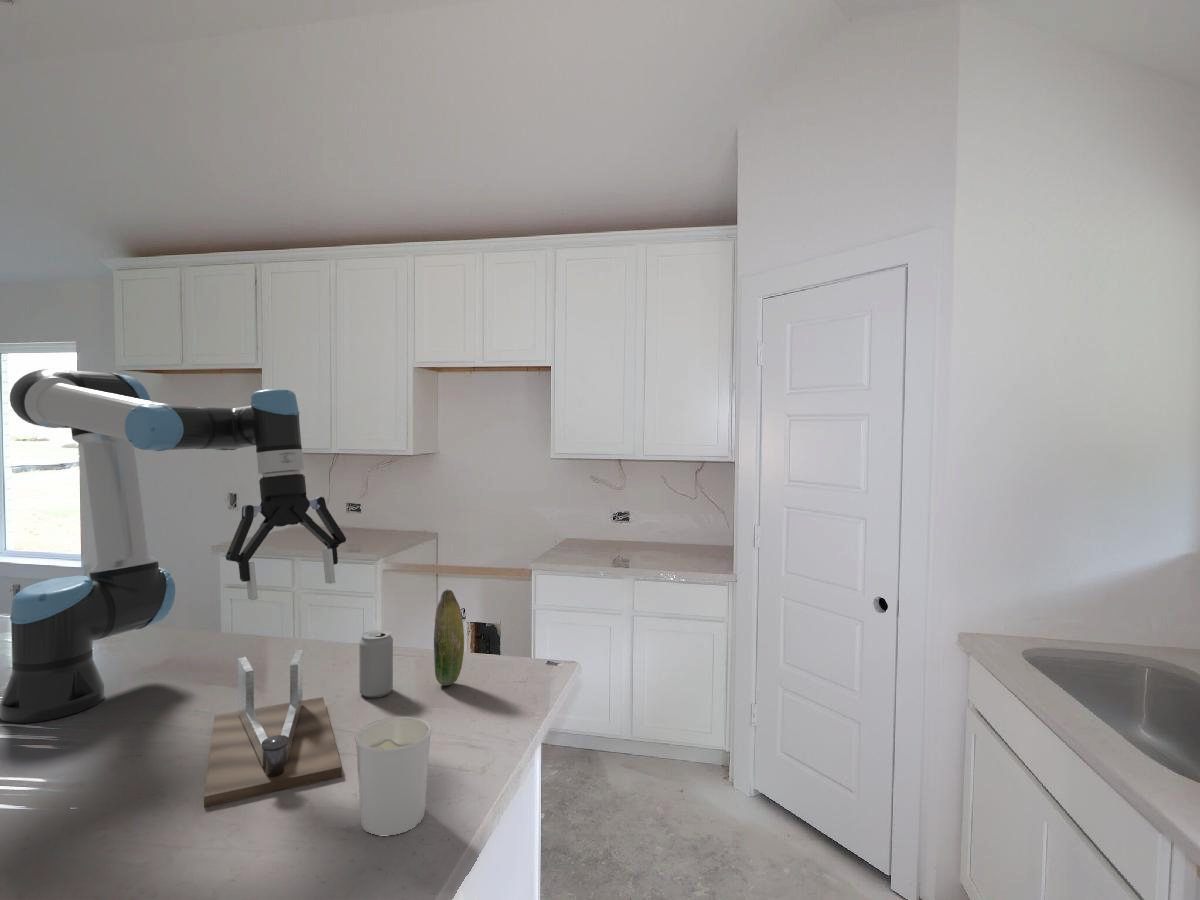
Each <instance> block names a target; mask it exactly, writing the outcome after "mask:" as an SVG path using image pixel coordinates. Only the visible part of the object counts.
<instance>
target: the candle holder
mask: <svg viewBox="0 0 1200 900" xmlns="http://www.w3.org/2000/svg"><path fill="white" fill-rule="evenodd" d="M431 733H432V728H431V726H430V723H428V722H427V721H426V720H424V719H421V718H418V717H412V716H394V717H388V718H383V719H379V720H378V719H377V720H376V721H373V722H371V723H368V724H367V725H365V726H363V727H362V728H361V729H359V731H358V732H357V733H356V735H355V745H356V761H357V762H356V763H357V780H358V795H359V796H358V797H359V799H358V800H359V813H360V823H361V827H362V828H363V830H364V832H366V833H367V832H369V833H371V834H370V835H372V834H375V835H395V836H397V835H396V834H399V833H402V832H405V831H407V830H409V829H411V828H413V827H414V826H416V825H417V824H418V823H419V824H421V822H422V821H423V819H424V816H425V811H426V801H427V790H428V789H427V786H428V773H429V772H428V771H429V757H430V756H429V755H430V743H431ZM421 820H422V821H421ZM419 824H418V825H419ZM418 825H417V826H418ZM417 826H416V827H417ZM413 829H414V828H413ZM411 830H412V829H411ZM369 833H368V834H369ZM405 833H406V832H405ZM375 835H374V836H375ZM399 835H400V834H399Z"/></svg>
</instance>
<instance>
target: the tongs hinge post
mask: <svg viewBox="0 0 1200 900" xmlns="http://www.w3.org/2000/svg"><path fill="white" fill-rule="evenodd" d="M288 743H289V738H288V737H287V736H284V735H277V736H272V737H269V738H267V739H265V740H263V741H262V749H263V750H266V776H267V777H277V776H280V775H282V774H283V773H284V747H285V746H287V745H288Z"/></svg>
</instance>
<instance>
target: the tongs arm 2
mask: <svg viewBox="0 0 1200 900" xmlns="http://www.w3.org/2000/svg"><path fill="white" fill-rule="evenodd" d="M289 669H290V670H289V675H290V677H289V680H290V681H289V696H290V697H289V703H290V706H289V710H288V713H287V716H286V720H285V723H284V726H283V730H282V733H281V735H284V736H287V737H288V738H289V743H288V745H287V746H285V747H284V762H287V760H288V756H289V752H290V748H291V744H292V740H293V736H294V733H295V729H296V725H297V721H298V718H299V714H300V710H301V706H302V701H303V649H295V650H294V654H293V657H292V659H291V662H290V665H289Z"/></svg>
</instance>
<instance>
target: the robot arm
mask: <svg viewBox="0 0 1200 900" xmlns="http://www.w3.org/2000/svg"><path fill="white" fill-rule="evenodd" d="M149 394H150V393H149V391H148V390H147V388H146V386H144V385H143V383H142V382H140V381H138V379H137V378H135V377H133V376H130V375H125V374H120V373H119V374H118V373H115V372H102V371H101V372H100V371H86V370H72V369H71V370H70V369H63V368H45V369H44V368H43V369H39V370H33V371H31V372H29V373H27V374H24V375H23V376H22V377H20V378H18V380H16V381H15V382H14V384H13V386H12V387H11V390H10V393H9V403H10V406H11V408H12V410H13V411H14V413H15V414H16V416H18V417H19V418H20V419H21V420H23V421H25V422H27V423H29V424H31V425H34V426H39V427H44V428H50V429H59V428H61V429H71V436H72V437H71V438H72V440H73V441H74V442H76V443H78V444H79V445H80V446H82V450H83V459H84V464H85V466H84V467H85V472H86V473H85V474H86V481H87V482H86V483H87V490H88V496H89V497H88V499H89V505H90V513H91V514H90V515H91V521H92V522H91V523H92V529H93V537H94V546H95V552H96V560H97V561H96V563H95V565H94V566H93V567H92V568H91V569H90V570H89V576H86V575H68V576H64V577H57V578H51V579H50V578H49V579H47V580H43V581H40V582H36V583H33V584H31V585H28V586H26V587H24V588H22V589H21V590H19V591H18V592H16V594H15V595H14V596H13V598H12V602H11V610H10V615H9V620H10V622H11V623H10V626H11V627H10V628H11V631H10V632H11V633H10V634H11V664H12V665H11V667H12V669H11V670H12V671H11V674H10V676H9V677H10V678H9V679H8V680H9V681H7V685H6V687H5V689H4V692H3V695H2V698H1V700H0V720H1V721H3V722H8V723H14V724H24V723H38V722H44V721H45V722H46V721H50V720H54V719H55V720H56V719H59V718H64V717H68V716H71V715H73V714H78V713H80V712H83V711H86V710H87V709H90V708H92V707H93V706H96V705H97V704H98V703H100V702H102V701H103V699H104V698H105V683H104V682H103V679H102V676H101V674H100V672H99V670H98V667H97V665H96V664H95V661H94V656H93V651H94V650H93V646H94V645H93V643H94V642H95V641H98V640H101V639H105V638H109V637H113V636H115V635H121V634H123V633H126V632H127V633H128V632H131V631H133V630H142V629H144V628H145V629H146V627H148V626H151V625H154V624H157V623H159V622H161V621H162V620H164V619H165V618H166V617H167V616H168V614H169V612H170V611H172V608H173V606H174V604H175V600H176V583H175V580H174V577H173V576H171V573H170V572H169V571H168V570H167V569H165V568H162V567H160V566H159V560H158V559H157V558H155V557H154V556H152V555H150V554H149V550H148V543H147V534H146V526H145V519H144V518H145V517H144V511H143V510H144V509H143V504H142V502H143V501H142V495H141V488H140V487H141V486H140V481H139V473H138V465H137V457H136V456H137V455H136V450H135V449H138V450H143V451H145V450H147V451H155V452H162V451H163V452H165V451H169V450H170V451H174V450H215V451H235V450H238V449H242V448H249V447H255V450H256V461H257V462H256V463H257V474H258V475H259V476H261V478H260V479H259V480H258V481H259V492H260V500H261V501H260V505H252V504H247V505H243V506H242V507H241V519H240V521H239V523H238V526H237V529H236V531H235V533H234V535H233V538H232V540H231V543H230V545H229V548H228V550H227V552H226V555H225V560H226V561H229V562H234V563H235V562H236V563H237V564H238V571H239V573H238V574H239V579H240V581H241V582H243V583H244V582H246V590H247V600H251V601H255V600H256V601H257V600H259V597H258V587H257V577H256V567H255V561H250V560H251V558H252V557H253V556H254V554H255V553H256V552H257V550H258V549H259V547H260V546H261V544H262V543H263V542H264V540H265V539H266V538H267V536H268V535H269V533H270V532H271V531H272V530H273V529H274V528H275V527H276V528H278V527H279V528H280V527H286V526H295V525H298V524H300V525H302V526H303V527H305V529H306V530H307V531H308V532H310V533H311V534H312V535H313V536H315V538H316V539H318V540H319V541H320V542H321V543H322V544H323V545H324V546H325V548H322V549H321V550H322V551H321V552H322V562H323V571H324V572H323V573H324V581H325V584H329V585H330V584H332V585H333V584H336V576H335V575H336V574H335V565H337V564H338V561H339V559H338V548H339V546H340V545H342V544H343V543H346V541H347V538H346V536H345V534H344V532H343V531H342V530H341V528H340V525H338V524H337V522H336V520H335V518H334V517H333V515H332V514H331V513H330V511H329V509H328V506H327V503H326V499H325V497H324V496H316V497H314V498H312V499H308V496H307V485H306V476H305V475H304V474H302V472H303V471H304V469H305V468H304V457H303V448H302V435H301V426H300V425H301V424H300V411H299V405H298V402H297V401H298V400H297V396H296V394H295V392H294V391H292V390H289V389H282V388H281V389H280V388H279V389H277V388H275V389H261V390H257V391H254V392H253V393H252V394H251V395H250V396H251V397H250V399H251V400H250V405H247V406H246V405H245V406H241V407H233V408H232V407H214V406H213V407H211V406H209V407H204V406H203V407H202V406H185V405H184V406H183V405H173V404H168V403H162V402H157V401H152V400H151V397H150V395H149ZM310 507H311V508H312V510H313V511H314V510H315V512H316V514H317V515H318V517H319V519H320V520H321V522H322V523H323V524H324V526H325V528H326V530H327V531H328V532H329V534H330V535H329V534H328V532H326V531H325V530H324V529H323V528H322V527H320V526H319V524H317V523H316V522H315V521H314V519H313V518H312V517H311V516H310V515H308V513H307V512H308V510H309V508H310ZM259 513H260V514H261V515H262V516H263V517H264V519H263V520H262V522H261V524H260V525H259V528H258V529H257V530H256V532H255V533H254V534H253V536H252V537H251V539H249V542H248V543H247V544H246V545H245V547H243V545H244V544H245V541H246V539H247V536H248V534H249V531H250V529H251V527H252V524H253V521H254V518H257V516H258V514H259ZM242 548H243V550H242Z"/></svg>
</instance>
